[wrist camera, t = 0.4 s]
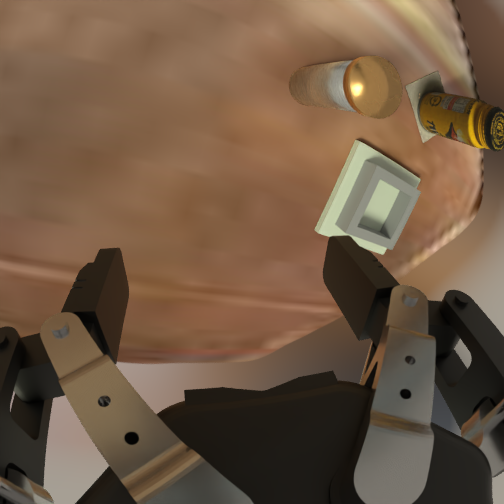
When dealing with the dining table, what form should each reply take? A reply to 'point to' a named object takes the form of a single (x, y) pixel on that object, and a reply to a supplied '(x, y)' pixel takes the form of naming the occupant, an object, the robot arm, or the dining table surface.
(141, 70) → the dining table surface
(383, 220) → the dock
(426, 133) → the condiment
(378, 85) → the glass storage jar
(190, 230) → the dining table surface
